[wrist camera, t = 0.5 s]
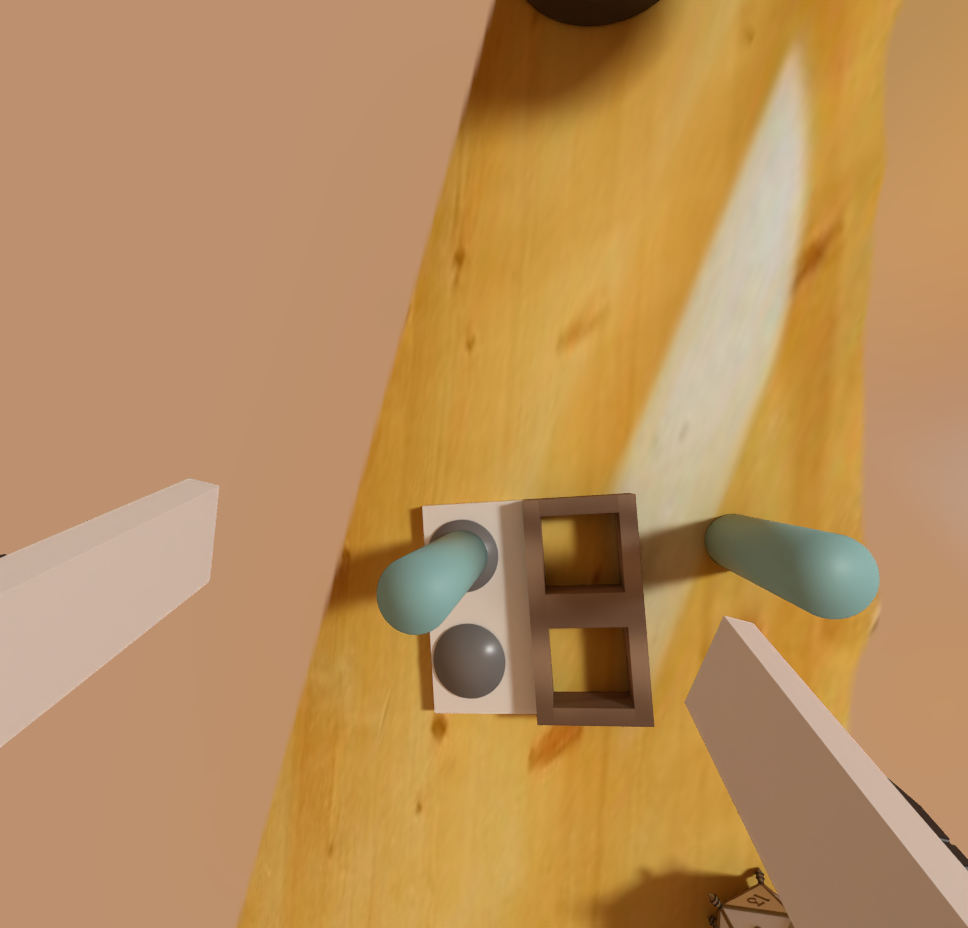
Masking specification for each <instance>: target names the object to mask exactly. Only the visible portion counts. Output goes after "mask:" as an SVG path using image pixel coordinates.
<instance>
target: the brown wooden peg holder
mask: <svg viewBox="0 0 968 928" xmlns="http://www.w3.org/2000/svg"><path fill="white" fill-rule="evenodd" d="M522 511H523V525H524V539H525V554H526V568H527V582H528V596H529V610H530V625H531V639H532V653H533V667H534V681H535V696H536V710H537V724H538V725H570V726H631V727H654V717H653V705H652V692H651V680H650V668H649V656H648V643H647V631H646V619H645V606H644V594H643V582H642V569H641V557H640V545H639V532H638V520H637V508H636V496H635V494H631V493H624V494H608V495H592V496H575V497H559V498H542V499H526V500H523V501H522ZM598 513H615V520H616V532H617V545H618V558H619V570H620V583H621V584H612V585H580V586H548V587H546V580H545V567H544V553H543V539H542V525H541V517H543V516H561V515H580V514H598ZM603 627H624V633H625V646H626V659H627V671H628V684H629V692H554V691H553V678H552V664H551V650H550V636H549V628H603Z"/></svg>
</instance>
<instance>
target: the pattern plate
mask: <svg viewBox="0 0 968 928" xmlns="http://www.w3.org/2000/svg"><path fill="white" fill-rule="evenodd" d="M522 501H523V500H509V501H493V502H476V503H460V504H443V505H427V506H422V512H423V528H424V544H425V545H427V544H429V543H431V542H433V541H435V540H437V539H439V538H441V537H443V536H445V535H447V534H449V533H451V532H453V531H457V530H466V531H470V532H472V533H474V534H476V535H477V536H478V537H479V538H480V539H481V540H482V541H483V542H484V544H485V546H486V549H487V554H488V559H487V564H486V567H485V569H484V571H483V572H482V574H481V575H480V576H479V577H478V579H477V580H476V581H475V582H474V584H473V585H472V586H471V587H470V589H469V590H468V591H467V593H466V594H465V595H464V596H463V598H462V599H461V600H460V601H459V603H458V604H457V605H456V606H455V608H454V609H453V610H452V611H451V613H450V614H449V615H448V616H447V618H446V619H445V620H444V621H443V623H442V624H441V625H440V626H439V627H437V628H436V629H434V630H433V631H431V632H430V643H431V659H432V676H433V692H434V709H435V713H475V714H537V710H536V696H535V681H534V667H533V653H532V639H531V625H530V610H529V596H528V582H527V568H526V554H525V539H524V525H523V511H522Z"/></svg>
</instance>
